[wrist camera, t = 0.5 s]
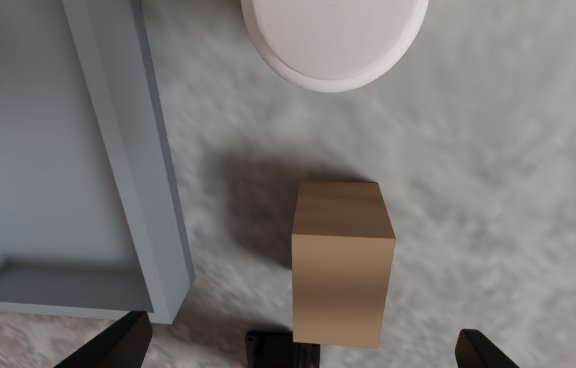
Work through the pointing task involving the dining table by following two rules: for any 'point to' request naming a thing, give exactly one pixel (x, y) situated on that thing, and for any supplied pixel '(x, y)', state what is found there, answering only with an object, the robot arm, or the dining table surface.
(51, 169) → the tray
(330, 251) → the walnut box
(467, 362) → the robot arm
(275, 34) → the supplement bottle
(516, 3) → the dining table surface
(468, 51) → the dining table surface
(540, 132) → the dining table surface
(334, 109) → the dining table surface
